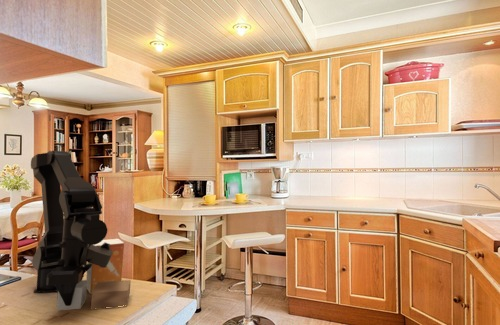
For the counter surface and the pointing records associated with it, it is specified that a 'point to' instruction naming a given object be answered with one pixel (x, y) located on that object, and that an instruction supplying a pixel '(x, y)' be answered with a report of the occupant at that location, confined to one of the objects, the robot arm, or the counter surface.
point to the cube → (74, 297)
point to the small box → (113, 268)
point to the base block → (110, 294)
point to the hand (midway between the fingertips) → (71, 300)
